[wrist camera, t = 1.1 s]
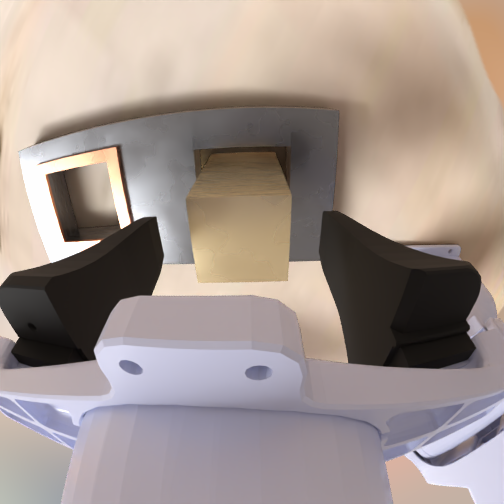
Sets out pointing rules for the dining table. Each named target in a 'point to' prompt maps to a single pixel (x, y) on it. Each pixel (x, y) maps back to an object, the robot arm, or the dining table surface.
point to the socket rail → (181, 172)
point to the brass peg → (240, 219)
